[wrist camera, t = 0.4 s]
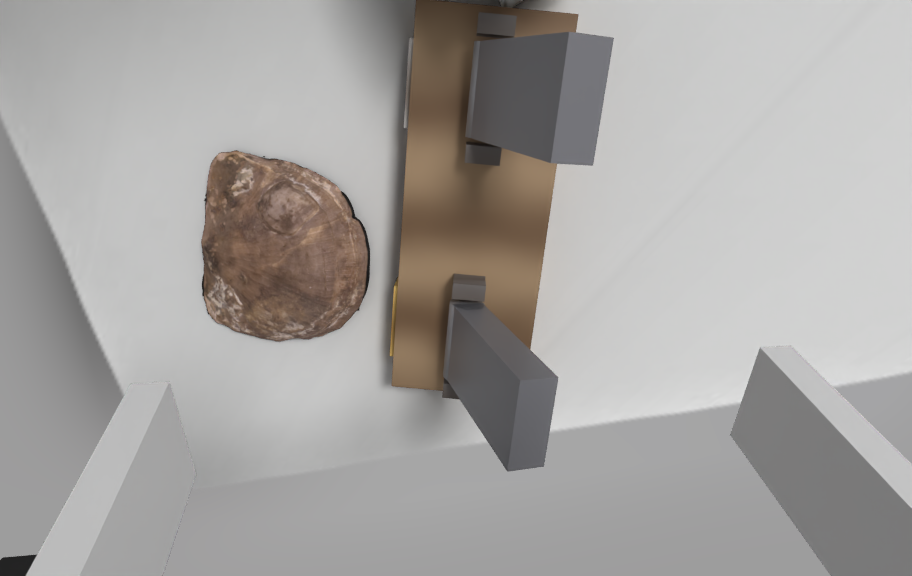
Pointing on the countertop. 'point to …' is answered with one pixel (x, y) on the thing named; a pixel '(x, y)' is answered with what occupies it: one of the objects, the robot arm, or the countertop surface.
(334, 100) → the countertop surface
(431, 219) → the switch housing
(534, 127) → the lever off
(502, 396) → the lever on
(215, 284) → the shell
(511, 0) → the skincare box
